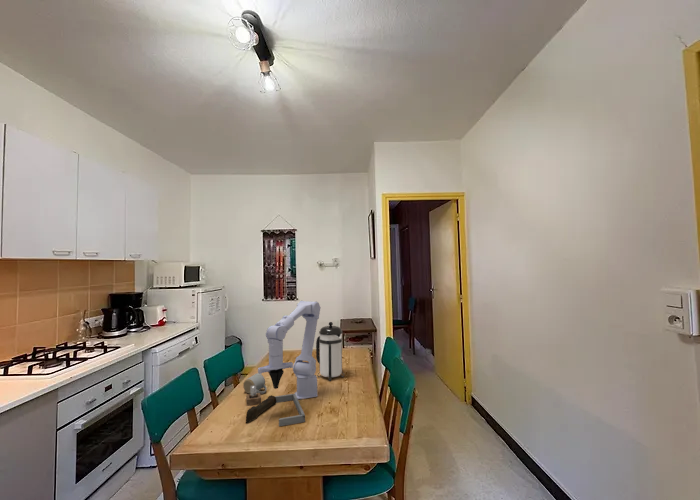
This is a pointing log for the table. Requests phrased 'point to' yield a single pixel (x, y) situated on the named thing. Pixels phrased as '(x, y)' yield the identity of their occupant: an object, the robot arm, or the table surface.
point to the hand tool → (260, 408)
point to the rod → (253, 391)
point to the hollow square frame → (253, 399)
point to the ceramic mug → (255, 383)
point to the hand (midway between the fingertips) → (275, 387)
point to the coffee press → (330, 351)
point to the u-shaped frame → (292, 419)
